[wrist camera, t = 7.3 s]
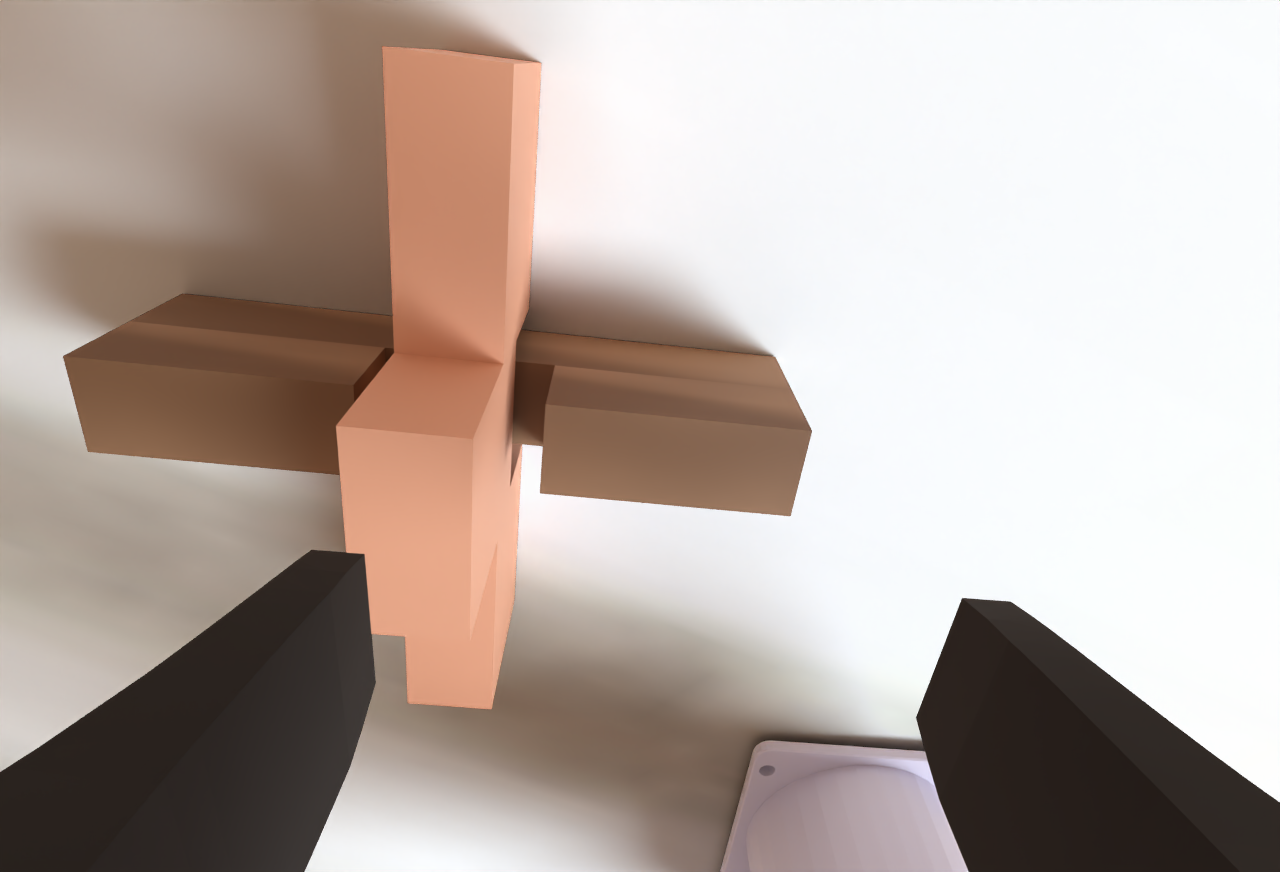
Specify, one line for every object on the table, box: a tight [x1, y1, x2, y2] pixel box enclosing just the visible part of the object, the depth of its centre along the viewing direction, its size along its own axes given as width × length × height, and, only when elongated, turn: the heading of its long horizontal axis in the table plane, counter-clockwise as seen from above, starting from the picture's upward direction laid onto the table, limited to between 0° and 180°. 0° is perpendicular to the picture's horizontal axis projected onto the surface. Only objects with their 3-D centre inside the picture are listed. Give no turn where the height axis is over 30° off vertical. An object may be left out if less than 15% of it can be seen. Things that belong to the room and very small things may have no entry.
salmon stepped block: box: [336, 46, 541, 709], centre depth 15 cm, size 14×2×7 cm, turn 173°
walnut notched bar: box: [63, 294, 812, 516], centre depth 16 cm, size 2×14×4 cm, turn 83°
